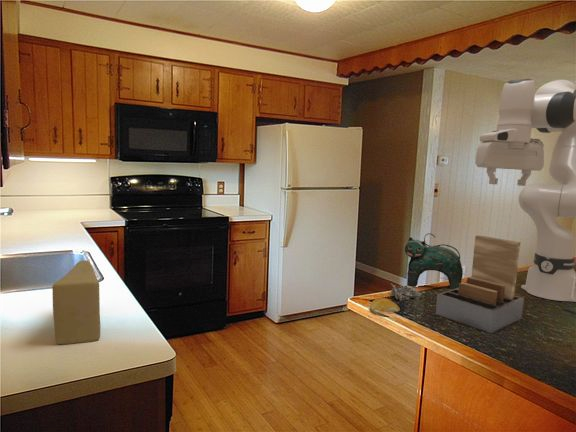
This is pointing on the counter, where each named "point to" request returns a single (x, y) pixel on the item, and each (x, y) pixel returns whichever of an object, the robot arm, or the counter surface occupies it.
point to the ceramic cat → (432, 262)
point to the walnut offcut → (488, 286)
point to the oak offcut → (477, 293)
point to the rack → (479, 310)
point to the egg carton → (405, 292)
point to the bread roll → (383, 306)
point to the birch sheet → (496, 262)
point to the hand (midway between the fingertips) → (507, 185)
